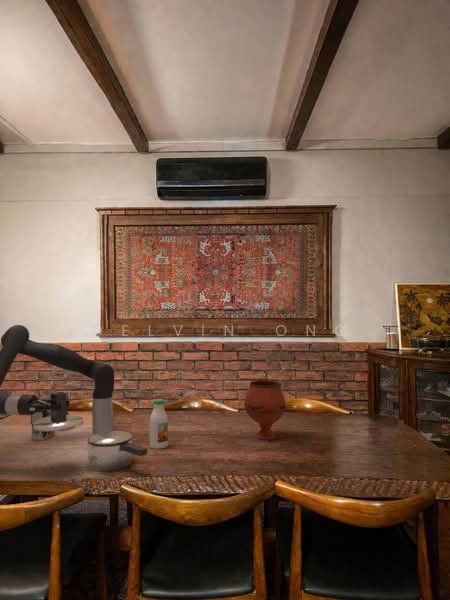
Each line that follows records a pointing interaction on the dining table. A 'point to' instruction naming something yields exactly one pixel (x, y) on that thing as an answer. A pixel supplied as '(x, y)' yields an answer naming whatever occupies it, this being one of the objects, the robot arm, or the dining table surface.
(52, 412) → the cooker lid
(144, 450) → the cooker pot
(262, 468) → the dining table surface
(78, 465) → the dining table surface
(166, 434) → the milk bottle
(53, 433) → the coffee box
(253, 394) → the goblet
